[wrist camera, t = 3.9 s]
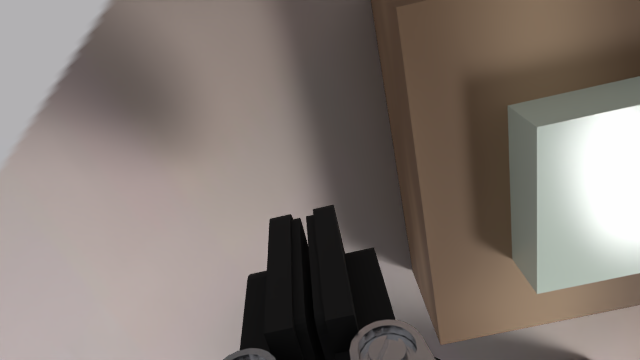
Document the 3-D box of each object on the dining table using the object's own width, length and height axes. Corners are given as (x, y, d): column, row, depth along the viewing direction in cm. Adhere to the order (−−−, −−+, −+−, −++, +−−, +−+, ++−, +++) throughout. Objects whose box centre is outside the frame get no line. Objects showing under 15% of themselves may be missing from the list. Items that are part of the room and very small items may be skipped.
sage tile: (703, 62, 12) (761, 78, 10) (676, 224, 14) (720, 256, 13) (507, 105, 12) (536, 127, 11) (512, 259, 14) (536, 294, 13)
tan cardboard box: (835, -119, 14) (1026, -140, 10) (756, 199, 19) (866, 258, 15) (369, -9, 14) (396, 7, 11) (412, 271, 19) (440, 345, 16)
